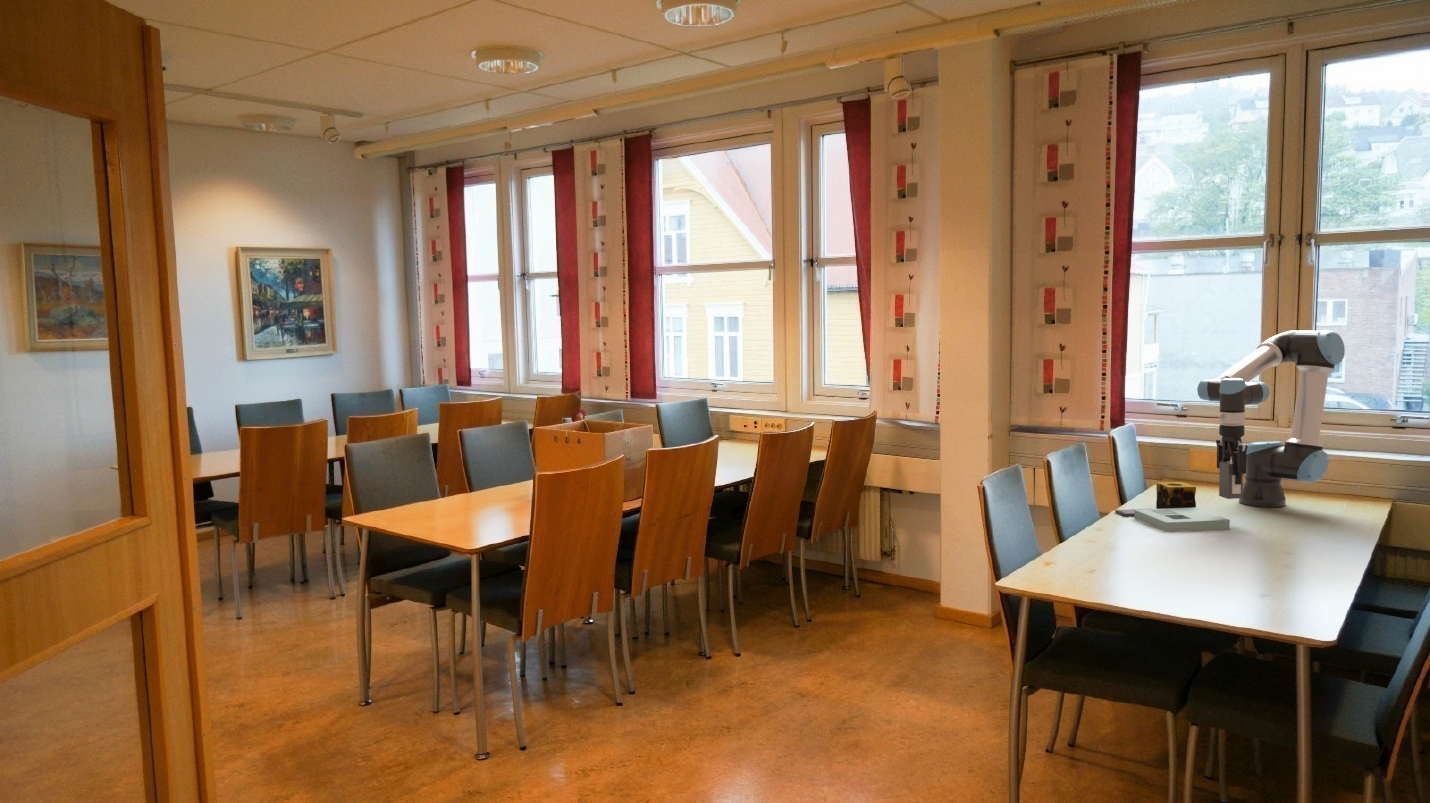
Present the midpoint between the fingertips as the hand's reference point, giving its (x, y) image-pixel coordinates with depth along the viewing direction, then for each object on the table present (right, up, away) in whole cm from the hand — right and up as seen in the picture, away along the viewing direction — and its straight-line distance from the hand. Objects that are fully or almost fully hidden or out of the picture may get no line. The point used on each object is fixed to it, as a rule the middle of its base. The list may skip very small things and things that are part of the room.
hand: (1230, 491), depth 323 cm
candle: (-9, -9, +20) cm, 24 cm away
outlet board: (-16, -11, +1) cm, 20 cm away
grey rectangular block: (0, -2, 0) cm, 2 cm away
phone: (-24, -10, +17) cm, 31 cm away
